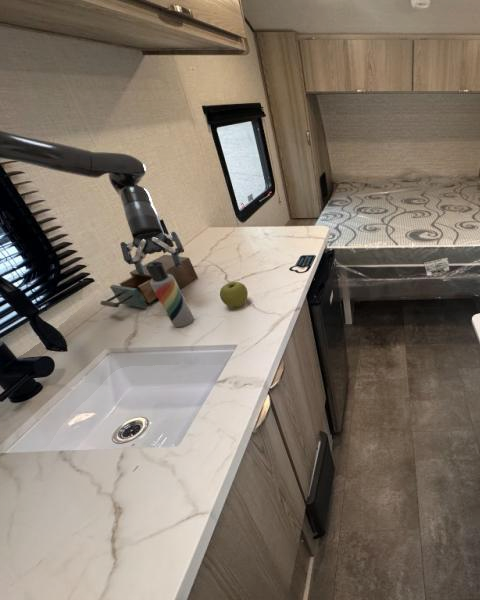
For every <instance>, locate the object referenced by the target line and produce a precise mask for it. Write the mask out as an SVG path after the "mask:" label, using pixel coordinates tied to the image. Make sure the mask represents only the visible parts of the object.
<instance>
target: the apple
mask: <svg viewBox="0 0 480 600" xmlns="http://www.w3.org/2000/svg"><path fill="white" fill-rule="evenodd" d="M248 294H249V293H248V288H247V286H246V285H245V284H244V283H242V282H240V281H230V282H228V283H225V284H224V285H223V286H222V287H221V288H220V290H219V298H220V300H221V301H222V303H223V304H224V305H226V306H227V307H229V308H239V307H241V306H243V305H244V304H245V303H246V301H247V300H248V296H249V295H248Z"/></svg>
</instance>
